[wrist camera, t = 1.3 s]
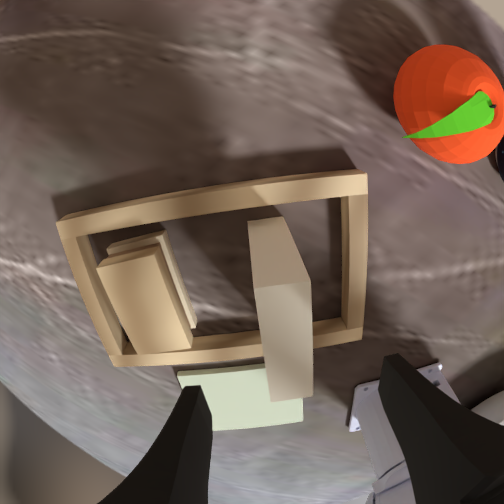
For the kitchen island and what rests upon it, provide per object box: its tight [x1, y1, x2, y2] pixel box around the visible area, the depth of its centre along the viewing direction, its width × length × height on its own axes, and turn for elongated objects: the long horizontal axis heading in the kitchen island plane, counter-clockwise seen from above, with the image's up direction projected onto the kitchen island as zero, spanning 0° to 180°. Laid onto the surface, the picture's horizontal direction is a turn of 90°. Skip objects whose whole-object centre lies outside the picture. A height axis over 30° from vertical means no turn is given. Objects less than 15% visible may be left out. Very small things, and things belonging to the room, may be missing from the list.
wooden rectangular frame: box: [56, 169, 368, 367], centre depth 20 cm, size 19×12×2 cm, turn 97°
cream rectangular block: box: [247, 216, 313, 402], centre depth 17 cm, size 2×7×8 cm, turn 7°
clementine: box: [393, 45, 504, 164], centre depth 13 cm, size 8×7×7 cm
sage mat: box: [177, 363, 303, 431], centre depth 26 cm, size 10×8×1 cm
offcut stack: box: [96, 230, 197, 355], centre depth 19 cm, size 4×7×4 cm, turn 12°
